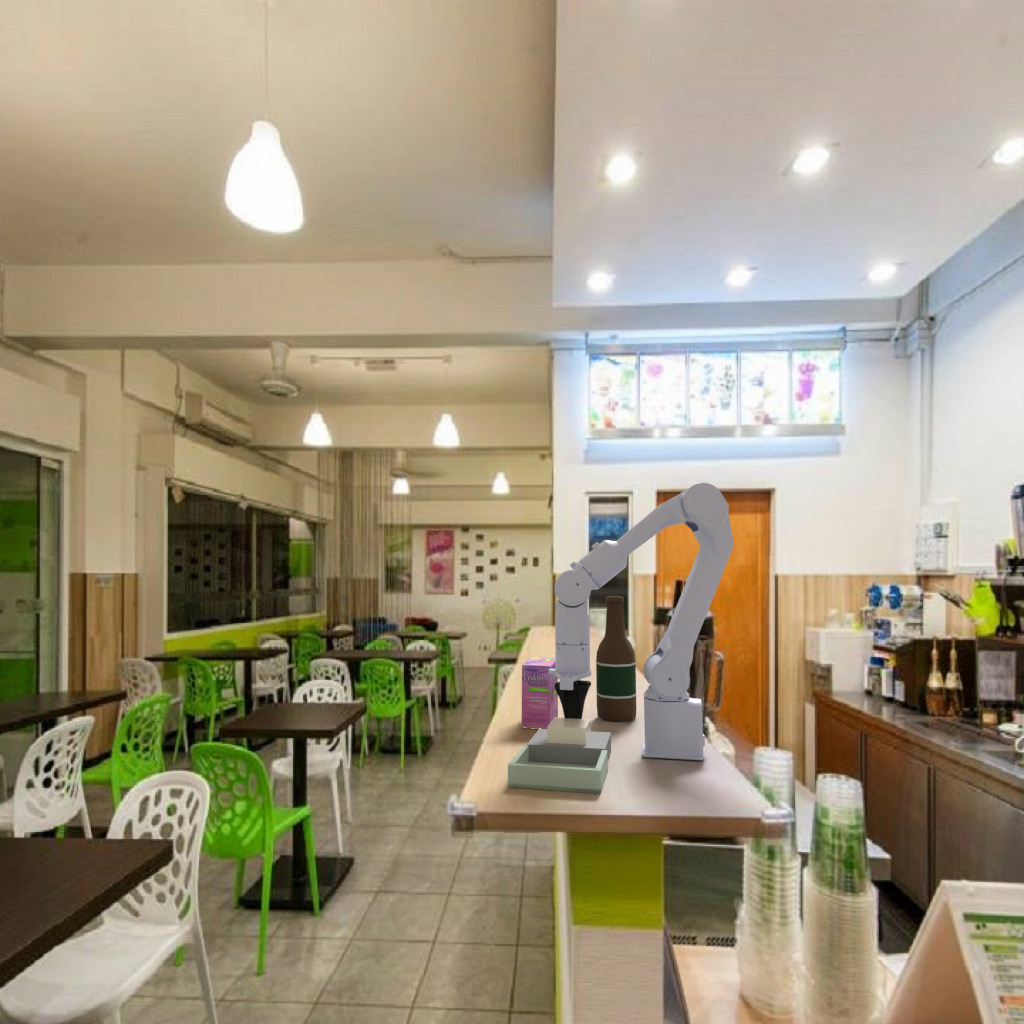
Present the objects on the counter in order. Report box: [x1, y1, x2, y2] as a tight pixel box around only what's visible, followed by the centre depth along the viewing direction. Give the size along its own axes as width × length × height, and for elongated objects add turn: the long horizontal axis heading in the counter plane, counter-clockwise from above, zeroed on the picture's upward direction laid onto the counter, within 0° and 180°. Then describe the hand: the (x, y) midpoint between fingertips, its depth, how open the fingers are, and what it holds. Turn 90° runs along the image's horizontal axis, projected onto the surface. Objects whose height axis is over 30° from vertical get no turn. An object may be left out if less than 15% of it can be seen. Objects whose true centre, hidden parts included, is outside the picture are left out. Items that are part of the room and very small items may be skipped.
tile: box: [547, 717, 592, 745], centre depth 108 cm, size 6×6×2 cm
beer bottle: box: [595, 595, 637, 723], centre depth 136 cm, size 8×8×24 cm
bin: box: [507, 744, 609, 795], centre depth 98 cm, size 13×11×3 cm
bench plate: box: [526, 729, 612, 766], centre depth 109 cm, size 12×10×3 cm
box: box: [520, 656, 559, 729], centre depth 132 cm, size 10×6×12 cm, turn 168°
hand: (573, 726), depth 112 cm, fingers closed
